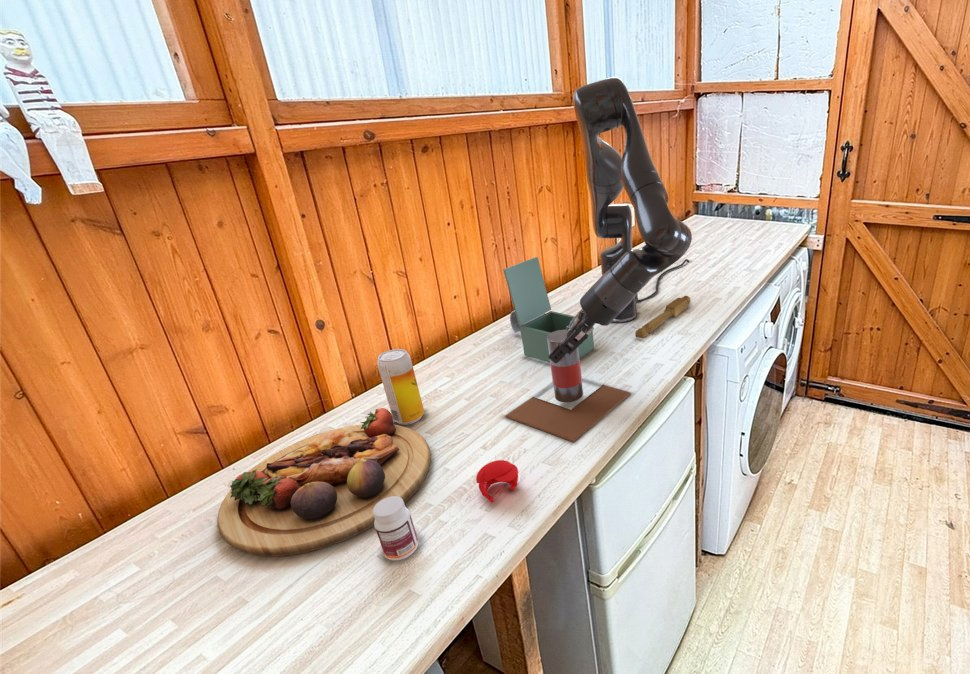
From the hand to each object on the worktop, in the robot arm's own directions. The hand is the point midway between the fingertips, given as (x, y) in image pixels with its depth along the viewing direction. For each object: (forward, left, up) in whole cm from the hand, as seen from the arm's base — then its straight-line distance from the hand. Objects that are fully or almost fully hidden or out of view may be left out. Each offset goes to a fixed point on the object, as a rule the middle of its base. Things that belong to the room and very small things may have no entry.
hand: (555, 352), depth 106 cm
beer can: (+19, -26, -13) cm, 34 cm away
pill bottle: (+42, +4, -13) cm, 44 cm away
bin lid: (-19, -24, +3) cm, 31 cm away
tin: (-1, +1, -10) cm, 10 cm away
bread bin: (-19, -17, -13) cm, 28 cm away
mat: (-1, +1, -13) cm, 13 cm away
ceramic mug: (-26, -35, -13) cm, 45 cm away
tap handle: (-51, -3, -13) cm, 52 cm away
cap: (+26, +8, -13) cm, 30 cm away
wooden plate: (+39, -19, -13) cm, 45 cm away
